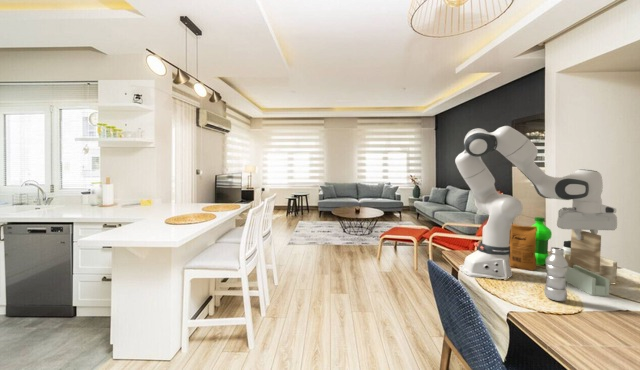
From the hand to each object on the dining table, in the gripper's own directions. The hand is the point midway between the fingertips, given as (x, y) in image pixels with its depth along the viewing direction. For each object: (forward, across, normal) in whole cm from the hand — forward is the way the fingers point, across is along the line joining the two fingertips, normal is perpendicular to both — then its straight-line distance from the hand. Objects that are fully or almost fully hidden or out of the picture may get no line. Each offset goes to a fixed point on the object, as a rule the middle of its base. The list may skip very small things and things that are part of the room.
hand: (585, 239), depth 114 cm
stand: (+20, 0, 0) cm, 20 cm away
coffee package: (+21, -12, +23) cm, 33 cm away
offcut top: (+16, +9, +18) cm, 25 cm away
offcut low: (+21, +9, +18) cm, 29 cm away
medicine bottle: (+21, +18, +34) cm, 44 cm away
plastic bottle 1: (+21, 0, +30) cm, 36 cm away
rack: (+20, +11, +14) cm, 27 cm away
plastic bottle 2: (+20, -20, -15) cm, 33 cm away
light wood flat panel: (+12, 0, 0) cm, 12 cm away
